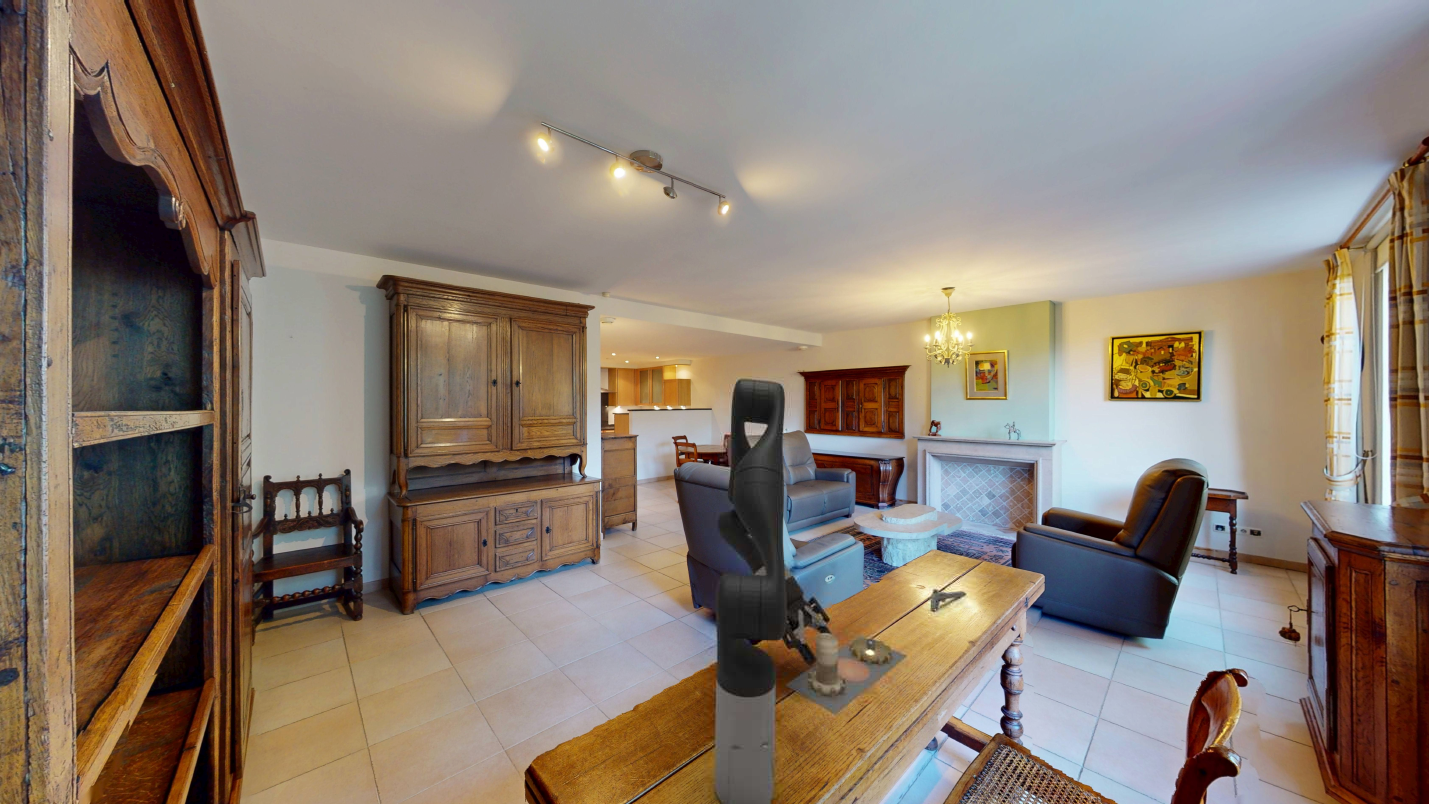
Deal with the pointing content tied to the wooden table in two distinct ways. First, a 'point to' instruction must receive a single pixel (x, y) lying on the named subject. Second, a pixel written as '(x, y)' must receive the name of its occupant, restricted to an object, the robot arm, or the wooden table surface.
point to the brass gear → (871, 651)
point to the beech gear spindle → (826, 668)
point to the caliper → (943, 597)
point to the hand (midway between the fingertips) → (823, 654)
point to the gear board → (846, 679)
